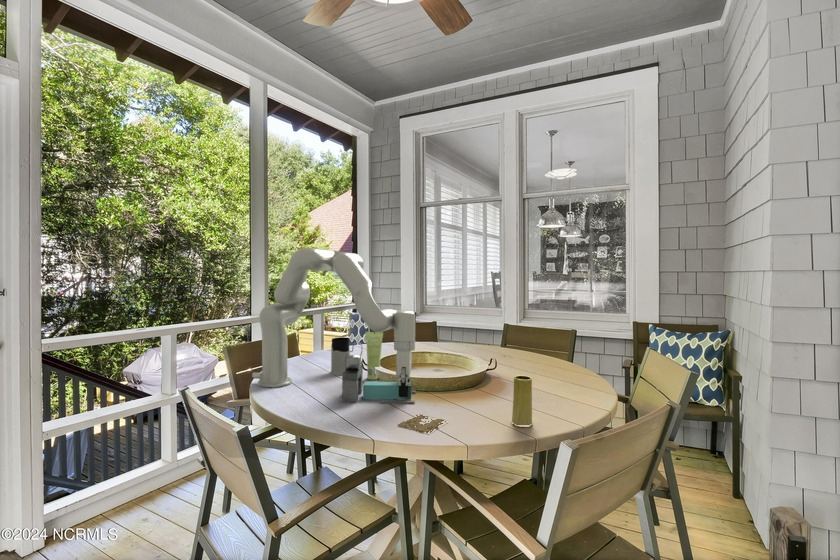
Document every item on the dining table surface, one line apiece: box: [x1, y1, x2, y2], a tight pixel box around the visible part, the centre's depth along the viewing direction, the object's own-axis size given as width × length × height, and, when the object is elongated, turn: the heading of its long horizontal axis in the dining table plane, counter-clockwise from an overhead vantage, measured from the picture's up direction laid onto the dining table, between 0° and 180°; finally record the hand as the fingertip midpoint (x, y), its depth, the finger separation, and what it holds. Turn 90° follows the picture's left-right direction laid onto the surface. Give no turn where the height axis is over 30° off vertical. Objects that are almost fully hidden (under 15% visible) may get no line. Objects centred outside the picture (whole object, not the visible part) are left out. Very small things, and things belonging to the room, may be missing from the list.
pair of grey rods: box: [379, 390, 417, 405], centre depth 155 cm, size 12×14×1 cm
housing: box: [341, 354, 364, 403], centre depth 156 cm, size 5×13×15 cm, turn 179°
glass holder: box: [330, 336, 363, 377], centre depth 189 cm, size 9×14×15 cm, turn 82°
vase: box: [511, 374, 533, 425], centre depth 131 cm, size 6×6×14 cm
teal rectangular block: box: [362, 381, 413, 401], centre depth 155 cm, size 17×4×5 cm, turn 89°
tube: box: [364, 331, 384, 381], centre depth 181 cm, size 6×5×20 cm
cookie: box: [397, 413, 447, 434], centre depth 130 cm, size 12×12×1 cm
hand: (404, 392), depth 155 cm, fingers open, 9 cm apart
